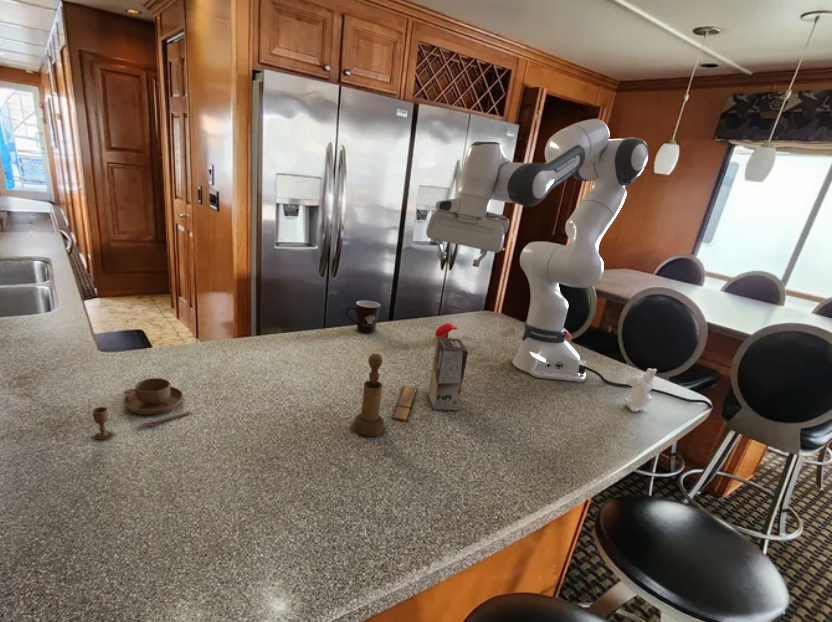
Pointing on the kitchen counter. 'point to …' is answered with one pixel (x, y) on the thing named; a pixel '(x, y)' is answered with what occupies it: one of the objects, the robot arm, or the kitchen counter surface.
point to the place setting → (144, 402)
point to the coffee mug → (366, 316)
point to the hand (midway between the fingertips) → (458, 262)
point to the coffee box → (447, 373)
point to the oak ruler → (405, 403)
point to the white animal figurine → (640, 390)
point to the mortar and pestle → (371, 402)
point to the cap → (444, 330)
